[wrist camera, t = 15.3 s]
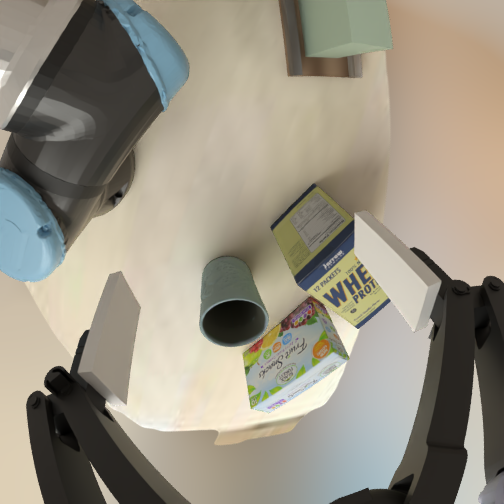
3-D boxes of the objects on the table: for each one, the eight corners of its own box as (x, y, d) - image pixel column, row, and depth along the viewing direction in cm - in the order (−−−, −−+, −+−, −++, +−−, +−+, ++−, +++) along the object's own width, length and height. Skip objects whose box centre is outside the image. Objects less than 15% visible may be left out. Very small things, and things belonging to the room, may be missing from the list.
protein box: (325, 273, 53) (358, 331, 40) (268, 227, 46) (294, 285, 33) (364, 235, 50) (410, 285, 37) (313, 181, 43) (359, 223, 30)
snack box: (307, 294, 55) (334, 351, 42) (324, 305, 57) (351, 359, 45) (240, 353, 62) (250, 410, 49) (258, 361, 64) (270, 415, 51)
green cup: (204, 248, 46) (205, 294, 36) (262, 256, 49) (278, 302, 39) (195, 295, 51) (195, 344, 41) (248, 301, 54) (258, 349, 43)
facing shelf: (287, 76, 34) (294, 75, 31) (271, -45, 22) (275, -53, 20) (354, 77, 35) (364, 77, 32) (337, -37, 23) (345, -44, 20)
